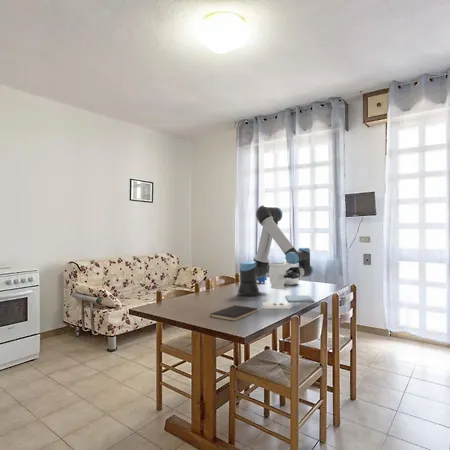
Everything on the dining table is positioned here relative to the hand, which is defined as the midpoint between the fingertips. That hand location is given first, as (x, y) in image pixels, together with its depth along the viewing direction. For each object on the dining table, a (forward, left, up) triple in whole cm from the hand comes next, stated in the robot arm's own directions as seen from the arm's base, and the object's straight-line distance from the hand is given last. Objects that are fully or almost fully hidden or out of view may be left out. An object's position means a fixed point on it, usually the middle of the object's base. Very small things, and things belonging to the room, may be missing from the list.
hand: (273, 276), depth 202 cm
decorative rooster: (+17, +75, -18) cm, 79 cm away
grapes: (-5, +83, -18) cm, 85 cm away
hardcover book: (-23, -19, -19) cm, 35 cm away
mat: (+18, +18, -18) cm, 31 cm away
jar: (+3, +3, -8) cm, 9 cm away
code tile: (+2, +1, -18) cm, 18 cm away
